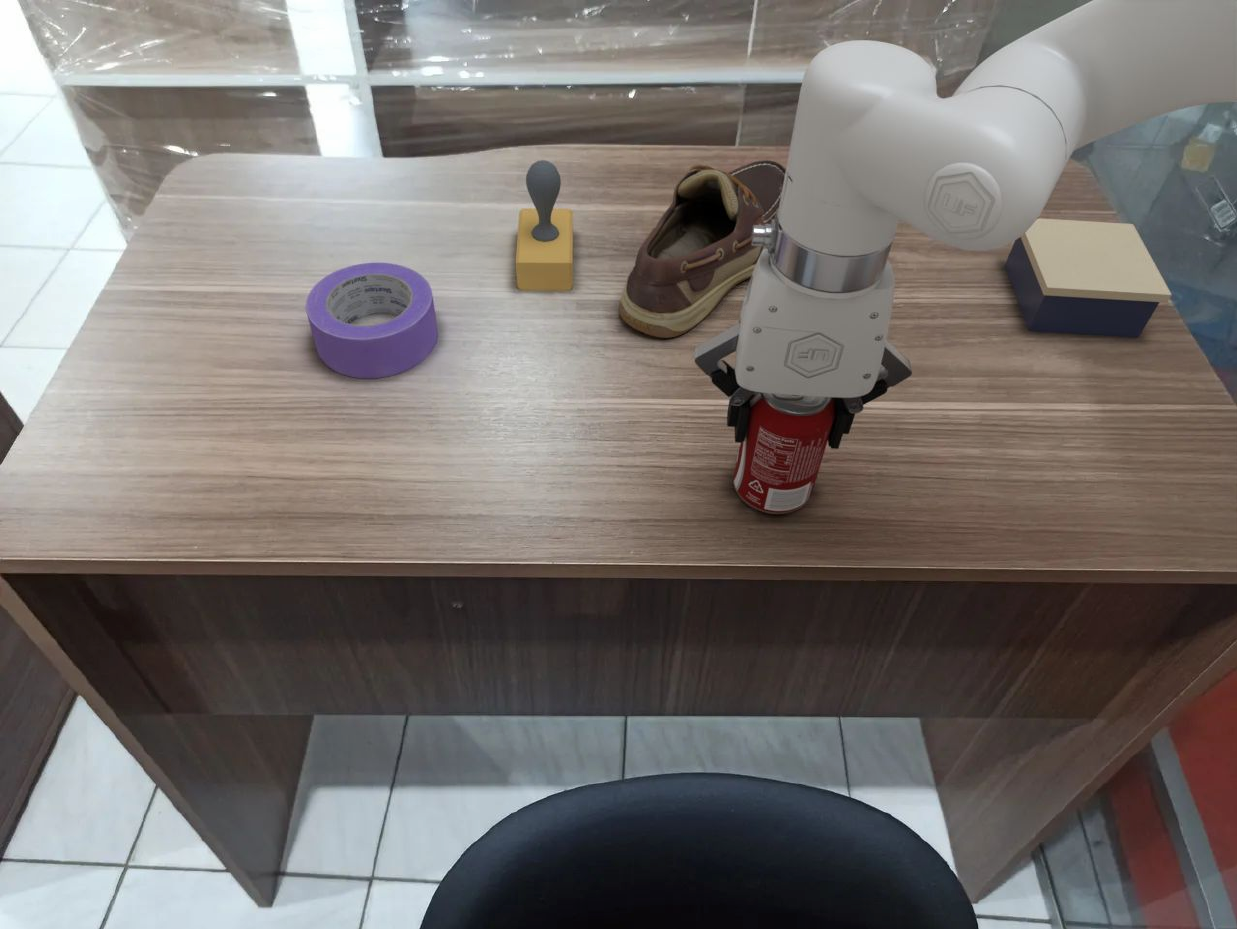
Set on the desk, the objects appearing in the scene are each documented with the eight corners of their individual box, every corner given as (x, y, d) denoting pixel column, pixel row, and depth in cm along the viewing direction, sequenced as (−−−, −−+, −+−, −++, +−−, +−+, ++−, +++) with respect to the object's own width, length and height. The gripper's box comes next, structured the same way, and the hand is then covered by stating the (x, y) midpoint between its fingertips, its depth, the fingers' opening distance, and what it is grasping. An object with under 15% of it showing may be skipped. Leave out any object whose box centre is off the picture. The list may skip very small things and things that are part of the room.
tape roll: (411, 288, 94) (404, 248, 91) (457, 354, 88) (452, 313, 84) (300, 323, 90) (288, 283, 86) (340, 395, 84) (329, 355, 80)
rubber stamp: (572, 291, 95) (571, 190, 86) (517, 291, 94) (510, 189, 85) (572, 236, 101) (571, 136, 92) (521, 235, 101) (515, 135, 92)
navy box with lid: (1108, 270, 100) (1133, 223, 95) (1143, 341, 92) (1172, 294, 87) (999, 263, 100) (1018, 216, 95) (1024, 334, 92) (1047, 287, 88)
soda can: (815, 520, 75) (846, 420, 66) (735, 518, 75) (755, 417, 66) (806, 460, 80) (834, 359, 71) (730, 457, 80) (748, 356, 71)
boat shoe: (741, 185, 109) (754, 98, 101) (822, 218, 105) (843, 129, 97) (588, 313, 92) (589, 221, 84) (678, 357, 88) (687, 265, 80)
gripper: (697, 273, 57) (676, 461, 70) (975, 290, 56) (900, 475, 70) (698, 206, 62) (678, 393, 75) (953, 221, 61) (887, 406, 75)
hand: (785, 431), depth 72 cm, fingers closed on soda can, 6 cm apart
